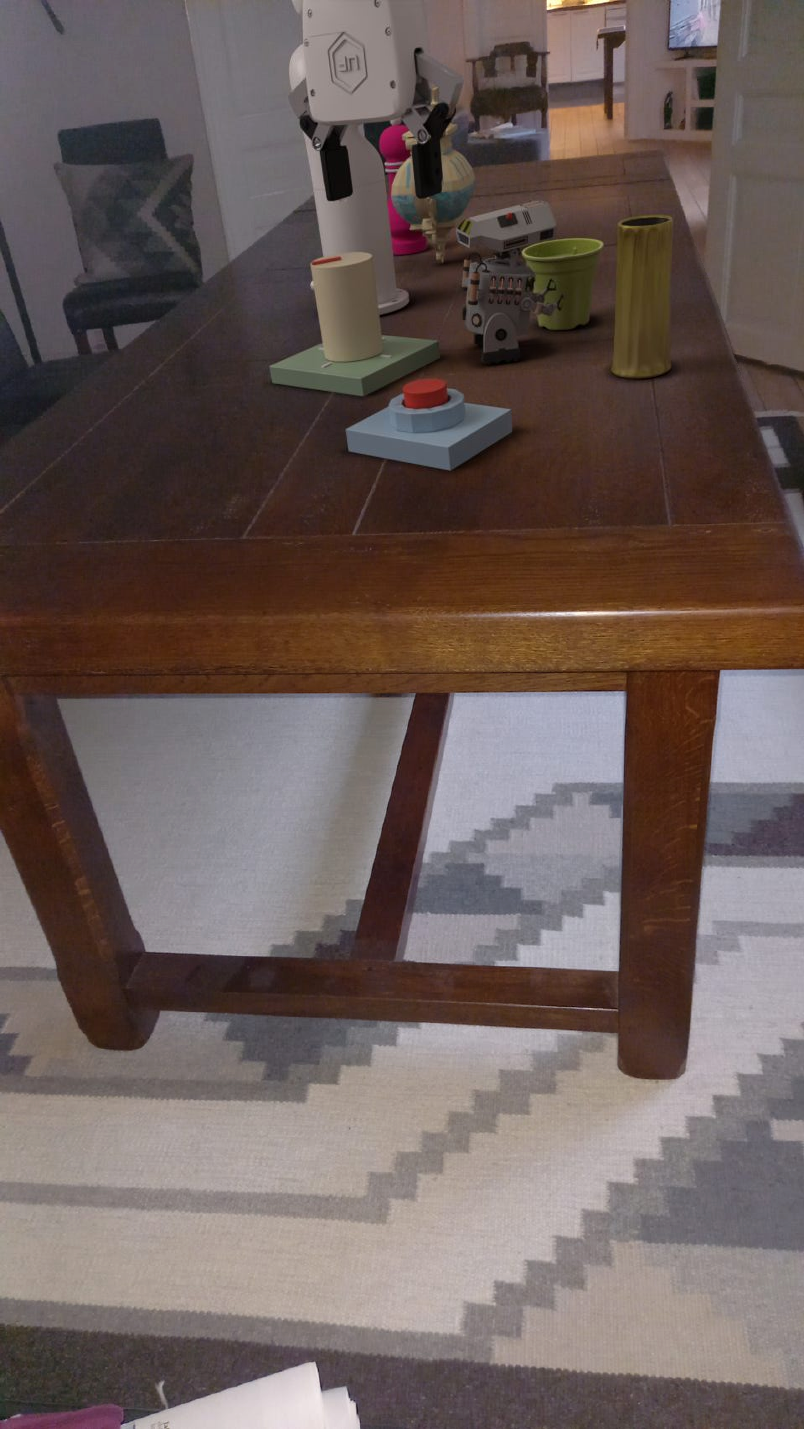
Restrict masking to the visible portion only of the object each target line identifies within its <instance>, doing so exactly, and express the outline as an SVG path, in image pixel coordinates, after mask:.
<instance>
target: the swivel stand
mask: <svg viewBox="0 0 804 1429" xmlns="http://www.w3.org/2000/svg"><path fill="white" fill-rule="evenodd" d="M382 342H383V351H382V352H381V353H379V354H378V355H376V356H373V357H371V358H367V359H363V360H358V361H350V362H336V361H330V360H328V359H326V358H325V355H324V348H323V342H321V343H319V344H317V345H314V346H312V347H309V348H307V349H305V350H302V351H300V352H299V353H296V354H293V355H292V356H289V357H287V358H285V359H282V360H280V361H278V362H275V363H273V364H271V365H269V372H270V378H271V382H272V384H276V385H282V386H289V387H296V388H302V389H310V390H315V391H322V392H331V393H339V394H345V395H351V396H359V397H366V396H367V395H369V394H372V393H373V392H376V391H377V390H380V389H382V388H384V387H385V386H387V385H389V384H391V383H393V382H396V381H397V380H399V379H401V378H404V377H405V376H407V375H409V374H411V373H414V372H415V371H417V370H419V369H420V368H423V367H424V366H427V365H428V364H431V363H433V362H435V361H437V360H439V359H440V358H441V354H440V353H441V352H440V341H439V340H435V339H433V340H432V339H424V338H415V337H407V336H405V337H404V336H397V335H396V336H394V335H385V334H382Z"/></svg>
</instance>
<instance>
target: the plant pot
mask: <svg viewBox="0 0 804 1429" xmlns="http://www.w3.org/2000/svg"><path fill="white" fill-rule="evenodd" d="M603 249H604V243H603V241H602V240H599V239H596V238H595V239H594V238H585V237H584V238H582V237H580V238H579V237H576V238H574V237H573V238H572V237H571V238H561V239H554V240H545V241H542V242H538V243H534V244H531V245H528V246H527V247H525V248H523V250H522V251H521V255H522V257H523V258H524V259H525V262H526V263H525V264H526V266H528V267H530V268H531V269H532V271H533V272H534V273H535V280H536V281H535V282H534V290H533V292H534V293H537V292H538V293H541V292H542V291H543V290H544V289H545V288H547V285H548V283H549V280H550V278H551V279H552V280H553V281H554V282H555V283H554V282H552V281H551V284H550V287H549V288H554V287H555V284H556V290H554V291H548V293H547V294H546V295H545V296H544V297H545V302H544V303H543V304H544V305H545V304H546V303H547V302H549V303H552V304H555V303H557V302H558V301H559V299H560V297H561V295H562V294H563V296H564V299H563V298H562V299H561V301H560V304H559V307H561V305H562V308H561V311H559V310H558V308H556V309H554V311H553V314H552V315H551V316H548V315H544V314H542V313H541V314H540V315H538V314H536V317H537V318H536V319H537V323H538V327H540V328H546V329H547V330H548V331H549V330H550V331H568V330H569V331H570V330H573V329H574V328H576V327H577V326H579V325H580V326H585V325H586V324H588V323H589V321H590V315H591V309H592V308H591V307H592V298H593V293H594V292H593V290H594V283H595V276H596V271H597V264H598V263H599V259H600V255H601V251H602V250H603Z"/></svg>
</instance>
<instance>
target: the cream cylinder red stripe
mask: <svg viewBox="0 0 804 1429" xmlns="http://www.w3.org/2000/svg"><path fill="white" fill-rule="evenodd" d="M310 271H311V278H312V281H313V284H314V290H315V291H314V295H315V302H316V310H317V316H318V323H319V326H320V327H319V328H320V335H321V341H322V342H321V343H323V348H324V355H325V358H326V359H328V360H330V361H336V362H350V361H358V360H363V359H367V358H371V357H373V356H376V355H378V354H379V353H381V352H382V351H383V342H382V335H383V333H382V327H381V318H380V315H379V309H378V301H377V292H376V284H375V276H374V267H373V259H372V255H371V254H369V253H365V252H349V253H340V254H334V255H329V256H325V257H323V256H321V257H318V258H316V259H314V260H312V261H311V262H310Z"/></svg>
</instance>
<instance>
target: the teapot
mask: <svg viewBox="0 0 804 1429" xmlns="http://www.w3.org/2000/svg"><path fill="white" fill-rule="evenodd" d="M429 52H430V49H429ZM438 96H439V89H438V87H437V86H436V87H433V86H432V102H431V105H430V107H431V108H432V109H433V108H434V106H435V105H436V104H437V102H438ZM457 130H458V124H457V123H453V120H452V121H451V122H450V124H449V126H448V127H447V129H446V134H445V137H444V138H443V139H440V146H441V159H442V171H443V180H442V191H441V193H439V194H436V195H433V196H430V197H427V198H424V199H419V198H418V197H417V196H416V194H415V183H414V173H413V162H412V152H411V153H410V154H411V156H410V157H409V158H408V159H407V160H406V161H405V162H404V164H403V165H402V166H401V167H400V168H399V170H398V171H397V174H396V176H395V179H394V181H393V184H392V191H391V198H392V203H393V205H394V207H395V209H396V211H397V212H398V214H399V215H400V216H401V217H402V218H403V219H404V220H405V221H407V222H408V223H410V225H411V227H410V230H411V231H421V232H423V234H424V236H425V237H426V239H427V240H428V242H429V243H430V244H431V245H432V246H433V248H434V251H435V261H437V263H438V264H444V260H445V256H446V250H445V247H446V245H447V244H446V243H447V241H448V240H449V239H450V233H451V231H452V229H454V228H457V227H458V226H459V225H460V224H461V223H462V222H463V220H464V219H466V215H465V213H464V212H465V211H466V209H467V207H468V205H469V203H470V201H471V200H472V197H473V193H474V191H475V187H476V175H475V172H474V168H473V167H472V165H471V164H470V162H469V161H468V159H467V158H466V156H464V155H463V154H462V153H461V152H459V151H457V150H456V149H454V148H453V143H452V136H453V134H454V132H455V131H457ZM402 139H403V140H405V141H406V150H411V149H412V145H415V144H417V140H416V138H415V137H414V136H413V134H412V133H411V131H408V132H406V133H405V134H403V135H402Z"/></svg>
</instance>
